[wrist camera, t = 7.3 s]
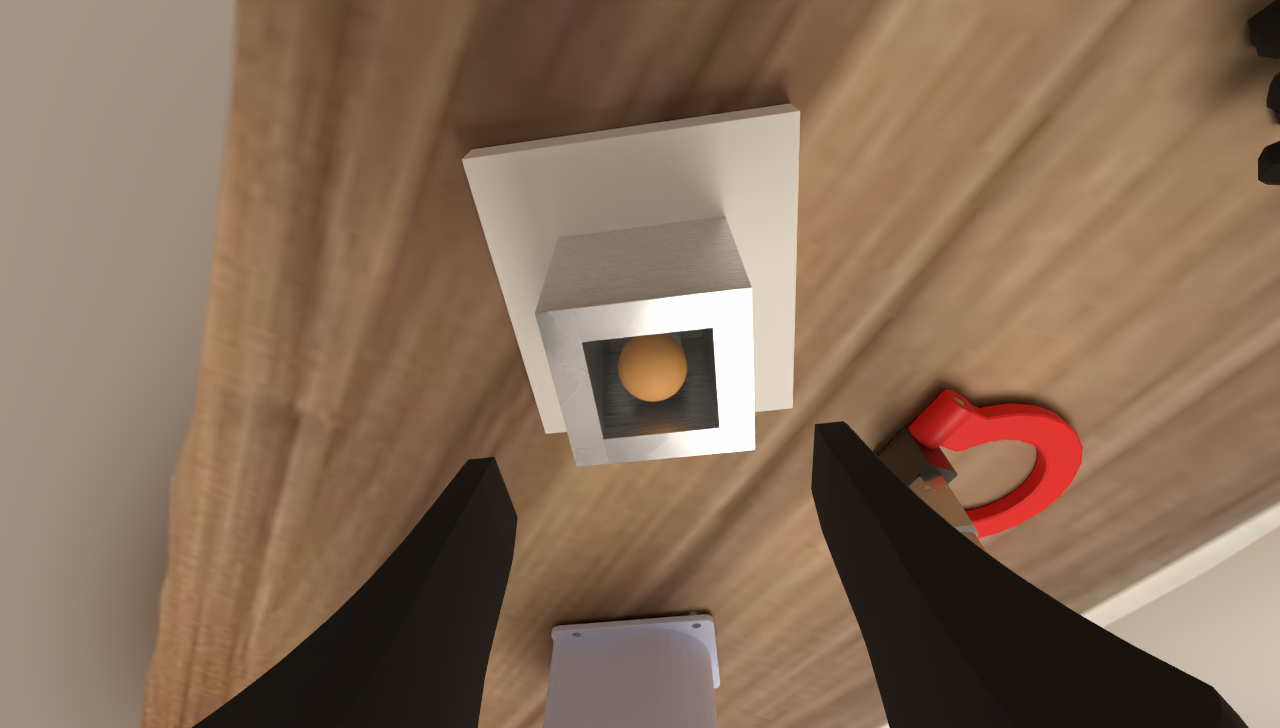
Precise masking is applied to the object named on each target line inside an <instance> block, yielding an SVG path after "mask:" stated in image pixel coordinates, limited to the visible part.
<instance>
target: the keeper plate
mask: <svg viewBox="0 0 1280 728" xmlns="http://www.w3.org/2000/svg"><path fill="white" fill-rule="evenodd" d="M799 139H800V110H798V109H797V108H796V107H795V106H793V105H792V104H791V103H790V104H783V105H776V106H769V107H762V108H755V109H748V110H741V111H734V112H727V113H720V114H714V115H707V116H700V117H693V118H686V119H679V120H672V121H665V122H658V123H651V124H644V125H637V126H631V127H624V128H617V129H610V130H603V131H596V132H589V133H582V134H575V135H568V136H561V137H554V138H548V139H541V140H534V141H527V142H520V143H513V144H506V145H499V146H492V147H485V148H478V149H472V150H471V151H470V152H469V153H468V154H467V155H466V156H465V157H464V158H463V159H462V162H463V165H464V169H465V172H466V175H467V178H468V182H469V185H470V188H471V191H472V195H473V198H474V201H475V204H476V208H477V211H478V214H479V217H480V221H481V224H482V227H483V230H484V234H485V237H486V240H487V244H488V247H489V250H490V253H491V257H492V260H493V263H494V266H495V270H496V273H497V276H498V279H499V283H500V286H501V289H502V292H503V296H504V299H505V302H506V305H507V309H508V312H509V315H510V318H511V322H512V325H513V328H514V332H515V335H516V338H517V341H518V345H519V348H520V351H521V354H522V358H523V361H524V364H525V367H526V371H527V374H528V377H529V380H530V384H531V387H532V390H533V393H534V397H535V400H536V403H537V406H538V410H539V413H540V416H541V420H542V423H543V426H544V429H545V433H546V434H549V433H559V432H567V430H566V426H565V423H564V419H563V415H562V412H561V408H560V404H559V401H558V397H557V393H556V390H555V386H554V382H553V379H552V375H551V371H550V368H549V364H548V360H547V357H546V353H545V349H544V346H543V342H542V338H541V334H540V331H539V327H538V323H537V320H536V316H535V311H536V307H537V304H538V301H539V298H540V295H541V291H542V288H543V285H544V282H545V279H546V275H547V272H548V269H549V266H550V263H551V259H552V256H553V253H554V250H555V247H556V243H557V240H558V237H565V236H573V235H581V234H588V233H596V232H604V231H612V230H620V229H628V228H636V227H644V226H651V225H659V224H667V223H675V222H683V221H691V220H699V219H707V218H714V217H722V216H726V219H727V222H728V224H729V227H730V230H731V232H732V235H733V238H734V240H735V243H736V246H737V249H738V251H739V254H740V257H741V259H742V262H743V265H744V268H745V270H746V273H747V276H748V278H749V281H750V284H751V286H752V317H753V370H754V412H760V411H769V410H779V409H788V408H793V370H794V332H795V293H796V255H797V216H798V178H799ZM697 337H703V329H695V330H686V331H677V332H668V333H659V334H651V335H642V336H633V337H624V338H615V339H609V342H610V347H616V346H622V352H621V354H620V357H619V362H618V372H619V376H620V380H621V382H622V384H623V385H624V387H625V388H626V389H627V391H628V392H629V393H631V394H632V395H633V396H635V397H637V398H639V399H641V400H644V401H651V402H655V401H661V400H665V399H667V398H669V397H671V396H672V395H674V394H675V393H676V392H677V391H678V390H679V389H680V388H681V386H682V385H683V383H684V381H685V378H686V375H687V359H686V355H685V353H684V351H683V349H682V344H681V339H688V338H697Z"/></svg>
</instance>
